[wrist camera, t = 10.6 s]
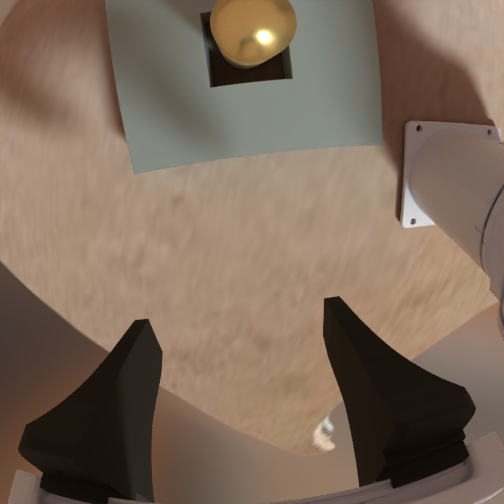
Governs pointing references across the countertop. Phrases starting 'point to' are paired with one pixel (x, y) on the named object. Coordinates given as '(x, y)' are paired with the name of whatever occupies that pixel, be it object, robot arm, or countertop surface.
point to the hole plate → (242, 84)
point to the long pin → (252, 30)
